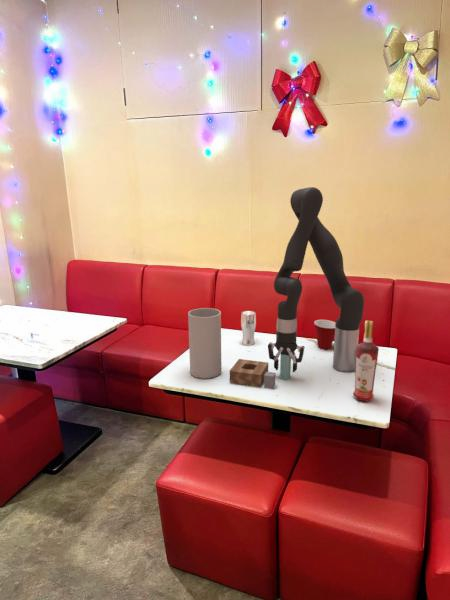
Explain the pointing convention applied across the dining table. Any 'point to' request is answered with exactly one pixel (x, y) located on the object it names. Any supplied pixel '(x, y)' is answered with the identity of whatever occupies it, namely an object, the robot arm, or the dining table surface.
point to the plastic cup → (325, 333)
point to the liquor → (365, 365)
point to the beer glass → (248, 327)
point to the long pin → (285, 367)
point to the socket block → (248, 372)
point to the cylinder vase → (205, 342)
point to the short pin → (269, 380)
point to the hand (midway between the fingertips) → (285, 370)
